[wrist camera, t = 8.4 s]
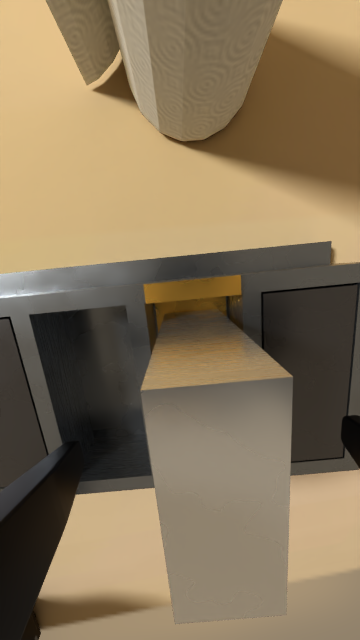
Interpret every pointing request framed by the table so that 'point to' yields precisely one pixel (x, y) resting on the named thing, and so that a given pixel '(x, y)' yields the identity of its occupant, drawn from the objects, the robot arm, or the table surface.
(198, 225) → the table surface
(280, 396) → the plain gray rectangular block
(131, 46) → the paper towel roll
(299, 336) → the rack
